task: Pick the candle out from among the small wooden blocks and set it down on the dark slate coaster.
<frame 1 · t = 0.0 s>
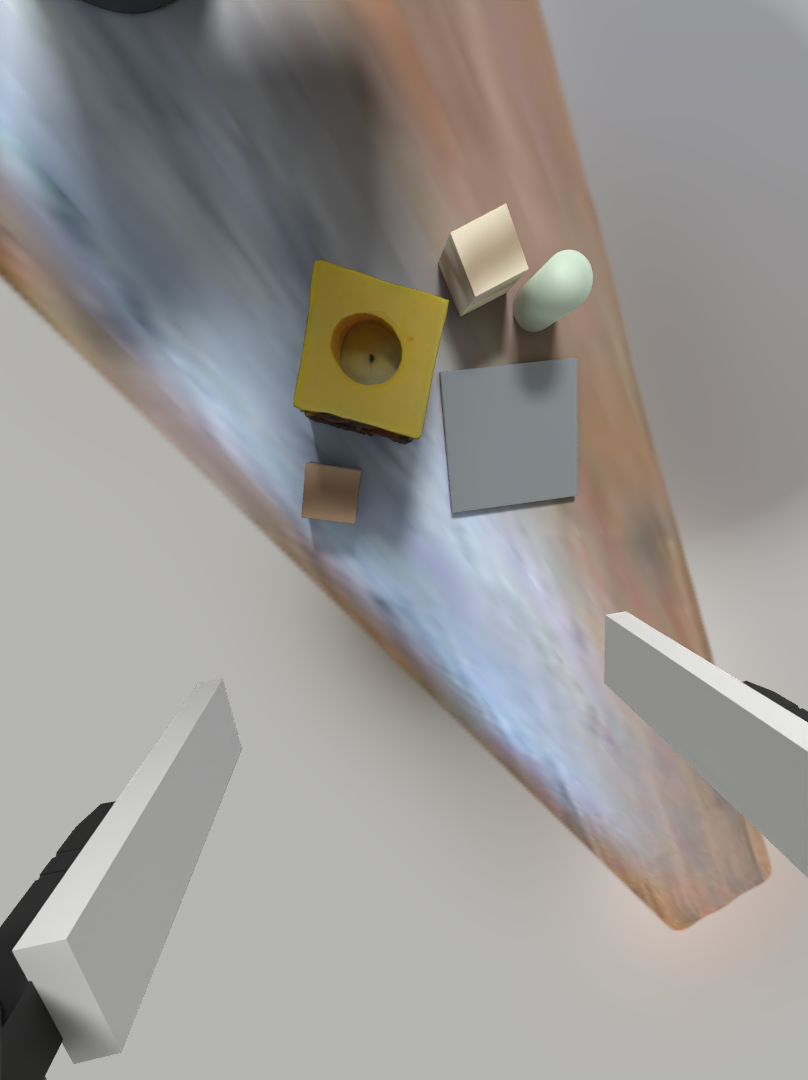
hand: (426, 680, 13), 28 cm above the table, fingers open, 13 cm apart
maple block: (472, 278, 35), on the table
walnut block: (334, 489, 39), on the table
sage capsule: (534, 307, 36), on the table
coaster: (511, 437, 39), on the table
candle: (368, 381, 37), on the table
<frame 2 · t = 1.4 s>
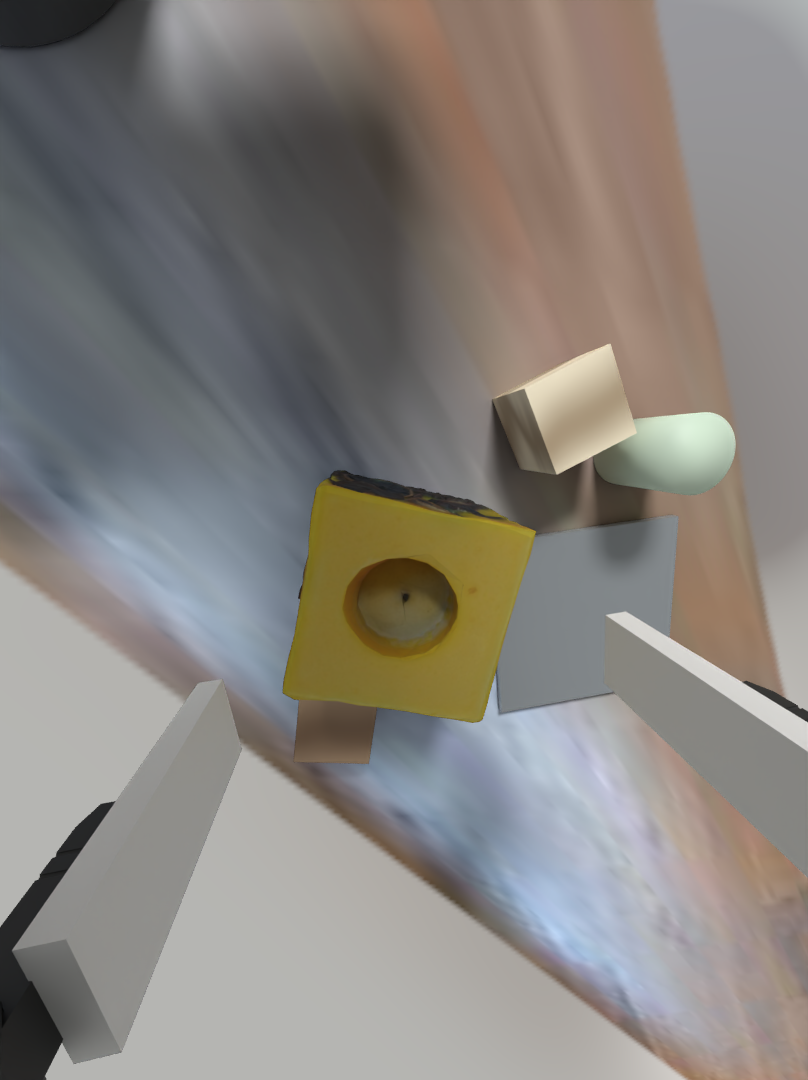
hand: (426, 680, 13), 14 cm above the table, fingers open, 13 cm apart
maple block: (539, 417, 25), on the table
walnut block: (338, 692, 28), on the table
sage capsule: (623, 452, 26), on the table
coaster: (581, 615, 29), on the table
candle: (391, 554, 26), on the table
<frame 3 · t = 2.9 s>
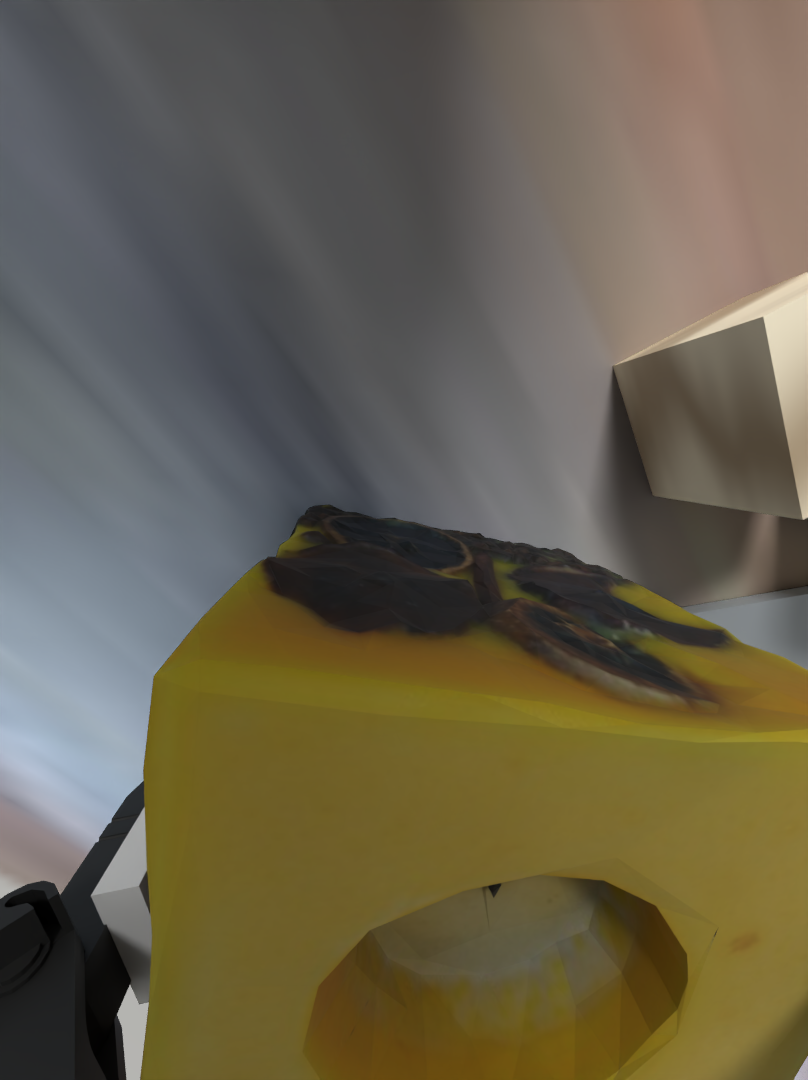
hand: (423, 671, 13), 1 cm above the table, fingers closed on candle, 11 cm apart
maple block: (694, 401, 13), on the table
coaster: (732, 735, 17), on the table
candle: (419, 648, 15), on the table, touching gripper
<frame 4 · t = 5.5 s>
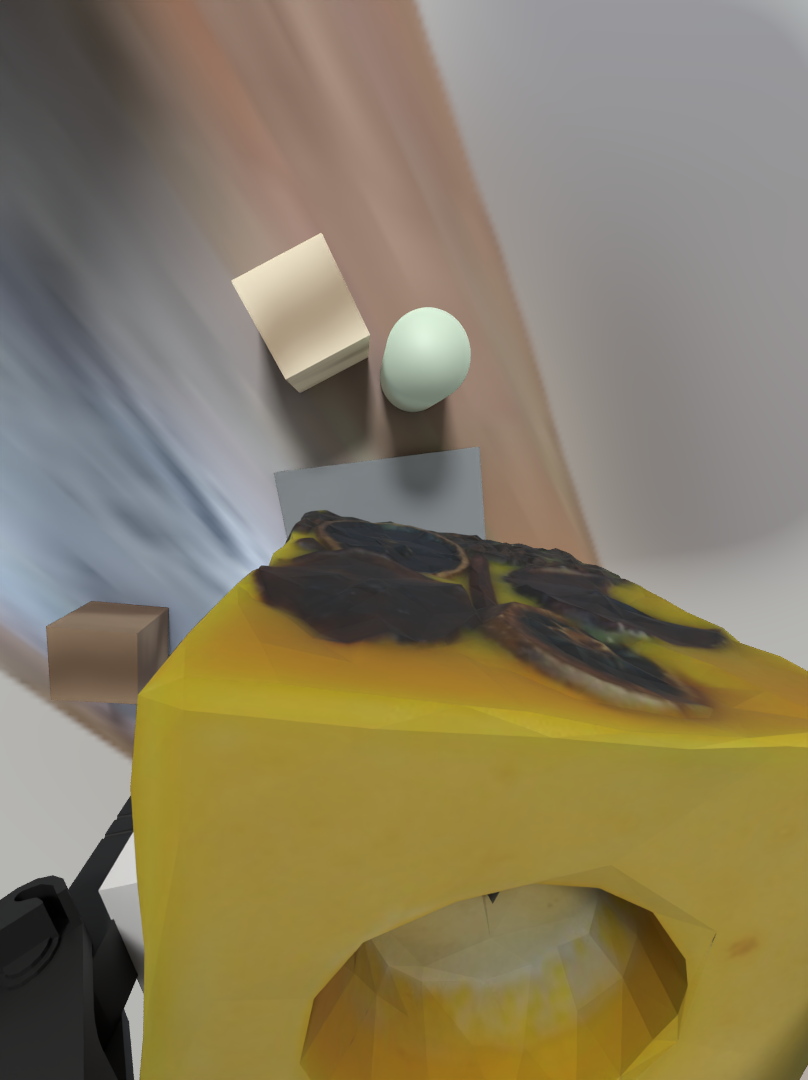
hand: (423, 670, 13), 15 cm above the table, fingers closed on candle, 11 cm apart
maple block: (314, 337, 24), on the table
walnut block: (132, 635, 27), on the table
sage capsule: (412, 377, 25), on the table
coaster: (391, 555, 28), on the table
candle: (418, 651, 15), point 13 cm above the table, touching gripper
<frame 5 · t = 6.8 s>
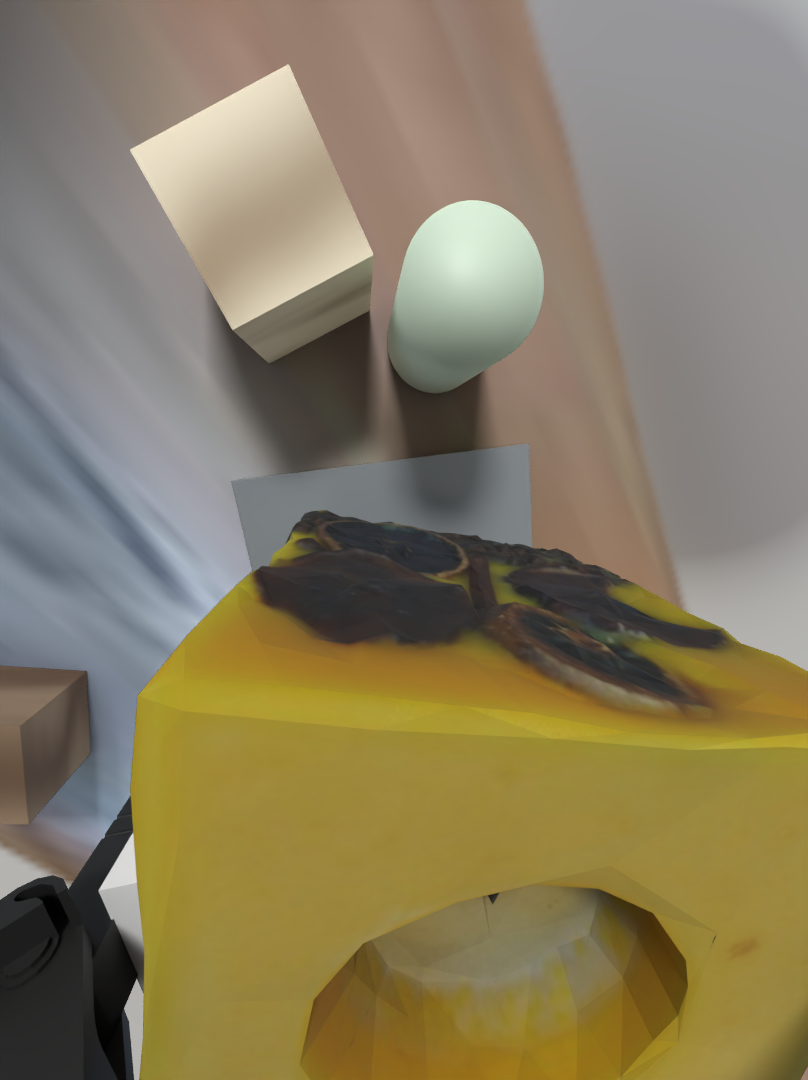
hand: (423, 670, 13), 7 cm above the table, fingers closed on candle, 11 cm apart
maple block: (289, 279, 16), on the table
walnut block: (36, 709, 19), on the table
sage capsule: (435, 341, 17), on the table
coaster: (401, 595, 20), on the table
candle: (418, 651, 15), point 5 cm above the table, touching gripper
when the fingers open (4 cm above the table, at t = 8.1 s): candle drops 2 cm, resting on coaster.
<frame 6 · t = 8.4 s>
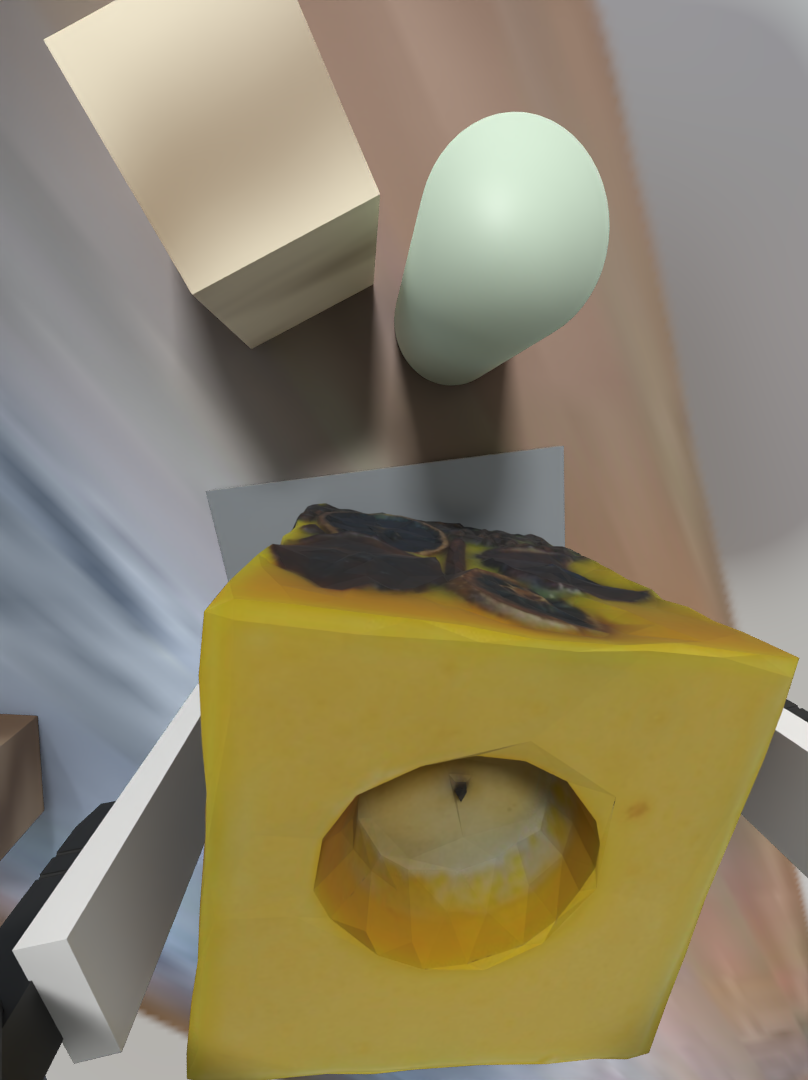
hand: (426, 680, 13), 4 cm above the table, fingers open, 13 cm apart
maple block: (275, 244, 13), on the table
sage capsule: (452, 323, 14), on the table
coaster: (410, 624, 17), on the table
candle: (411, 628, 16), resting on coaster
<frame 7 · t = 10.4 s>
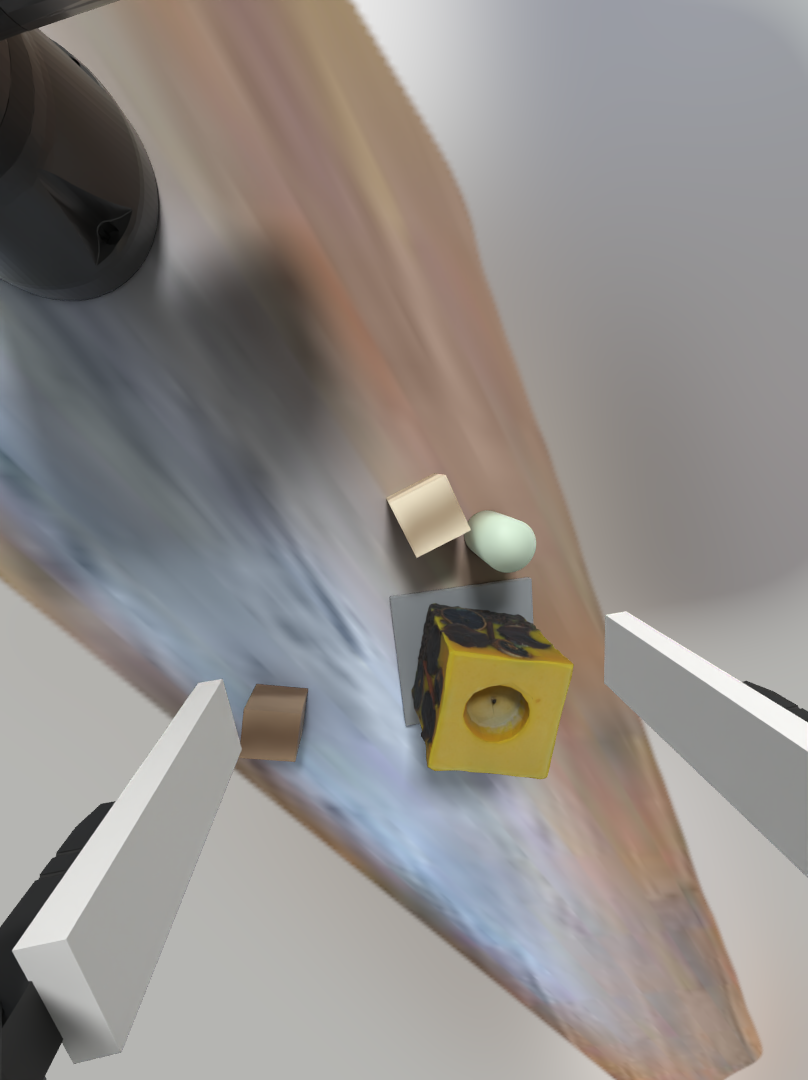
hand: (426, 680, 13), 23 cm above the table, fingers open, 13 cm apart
maple block: (421, 509, 35), on the table
walnut block: (280, 707, 38), on the table
sage capsule: (486, 533, 36), on the table
coaster: (465, 651, 38), on the table
candle: (466, 653, 38), resting on coaster
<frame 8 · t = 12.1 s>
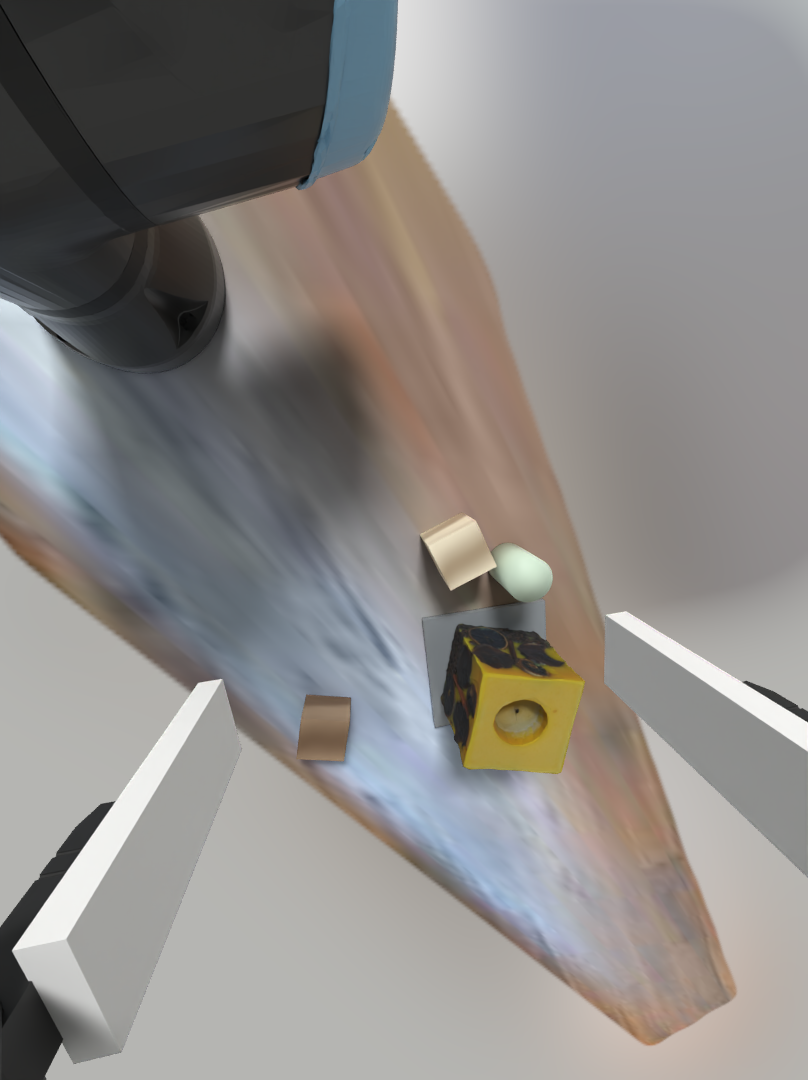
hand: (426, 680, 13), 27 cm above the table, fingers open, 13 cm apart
maple block: (450, 543, 40), on the table
walnut block: (326, 714, 43), on the table
sage capsule: (506, 562, 41), on the table
coaster: (486, 662, 44), on the table
candle: (488, 664, 43), resting on coaster
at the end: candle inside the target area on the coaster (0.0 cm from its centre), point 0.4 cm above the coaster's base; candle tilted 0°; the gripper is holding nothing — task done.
